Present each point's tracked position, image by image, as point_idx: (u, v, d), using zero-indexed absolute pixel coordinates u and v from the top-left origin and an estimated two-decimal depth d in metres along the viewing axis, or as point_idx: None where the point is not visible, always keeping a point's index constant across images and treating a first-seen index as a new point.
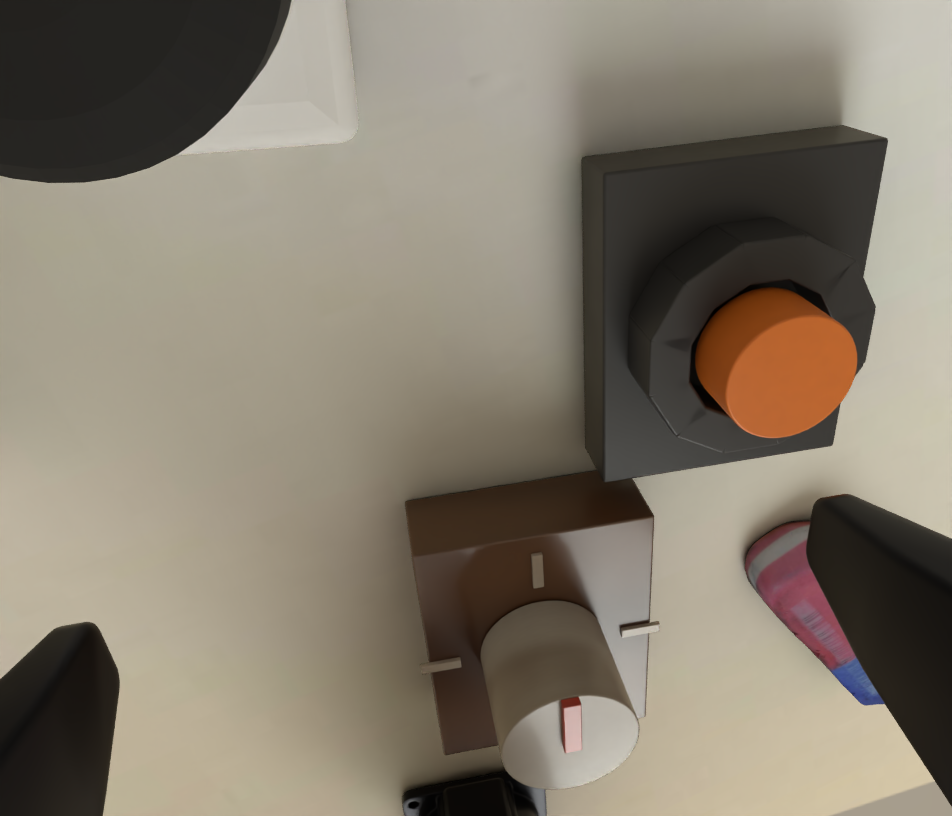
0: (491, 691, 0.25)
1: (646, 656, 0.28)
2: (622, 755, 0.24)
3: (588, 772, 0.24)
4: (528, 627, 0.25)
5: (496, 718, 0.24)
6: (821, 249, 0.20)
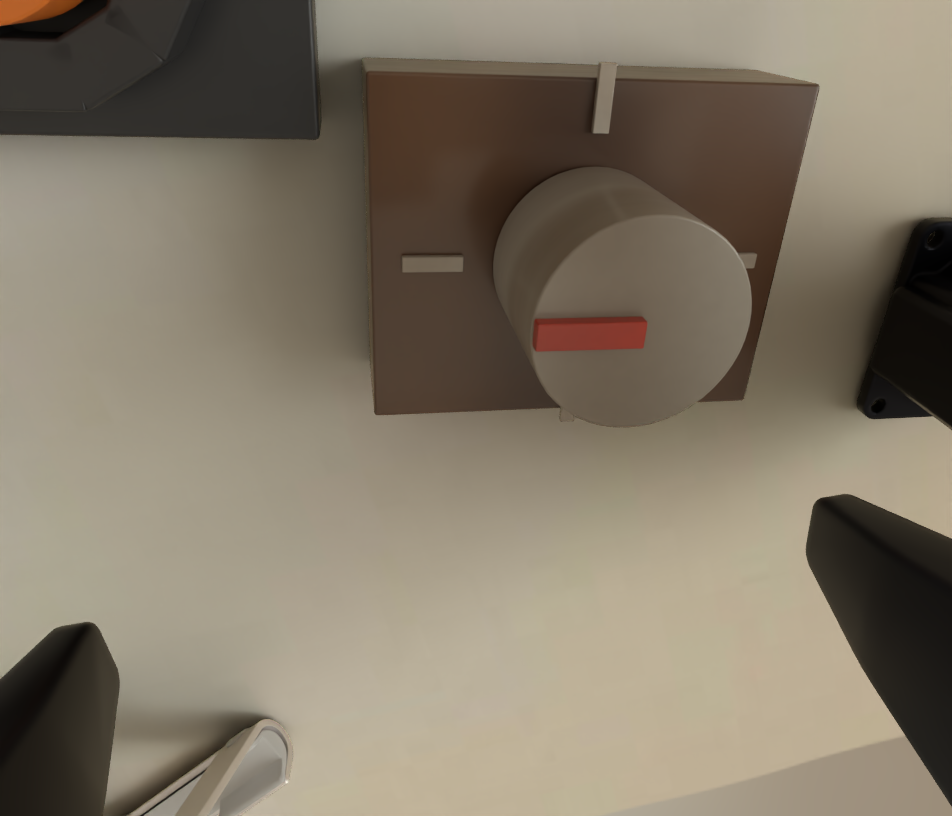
0: None
1: (673, 84, 0.16)
2: (710, 244, 0.14)
3: (724, 301, 0.15)
4: (503, 302, 0.17)
5: None
6: None
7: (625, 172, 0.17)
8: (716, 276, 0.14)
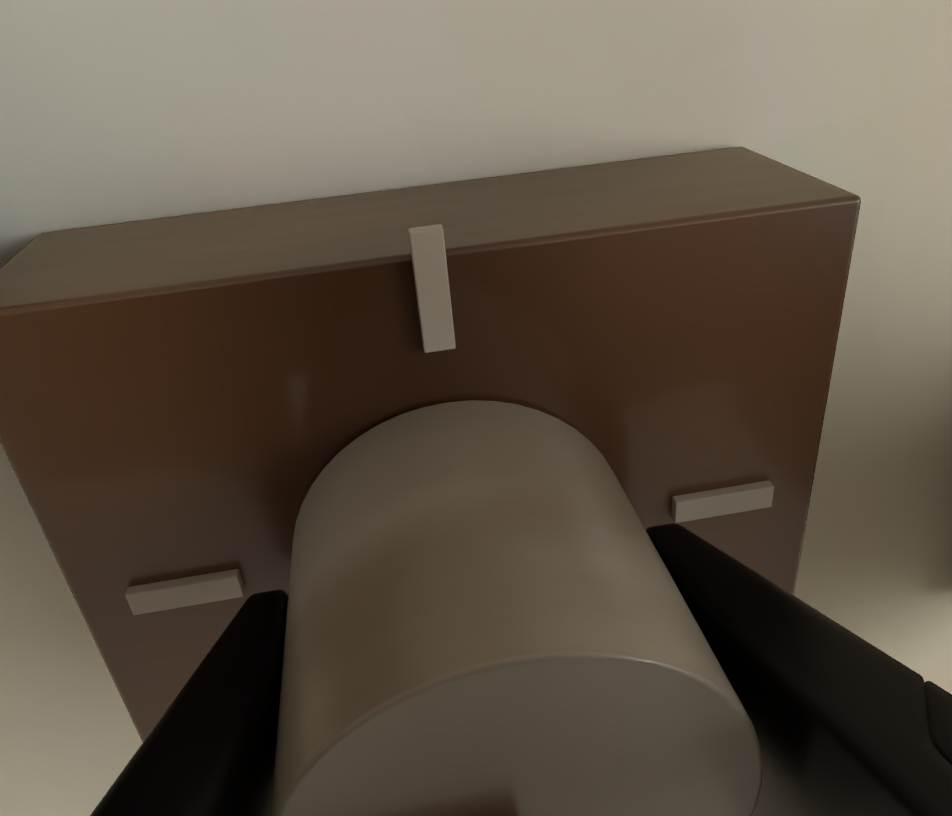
0: None
1: (568, 242, 0.08)
2: (644, 685, 0.06)
3: (698, 763, 0.07)
4: None
5: None
6: None
7: (504, 404, 0.09)
8: (671, 731, 0.06)
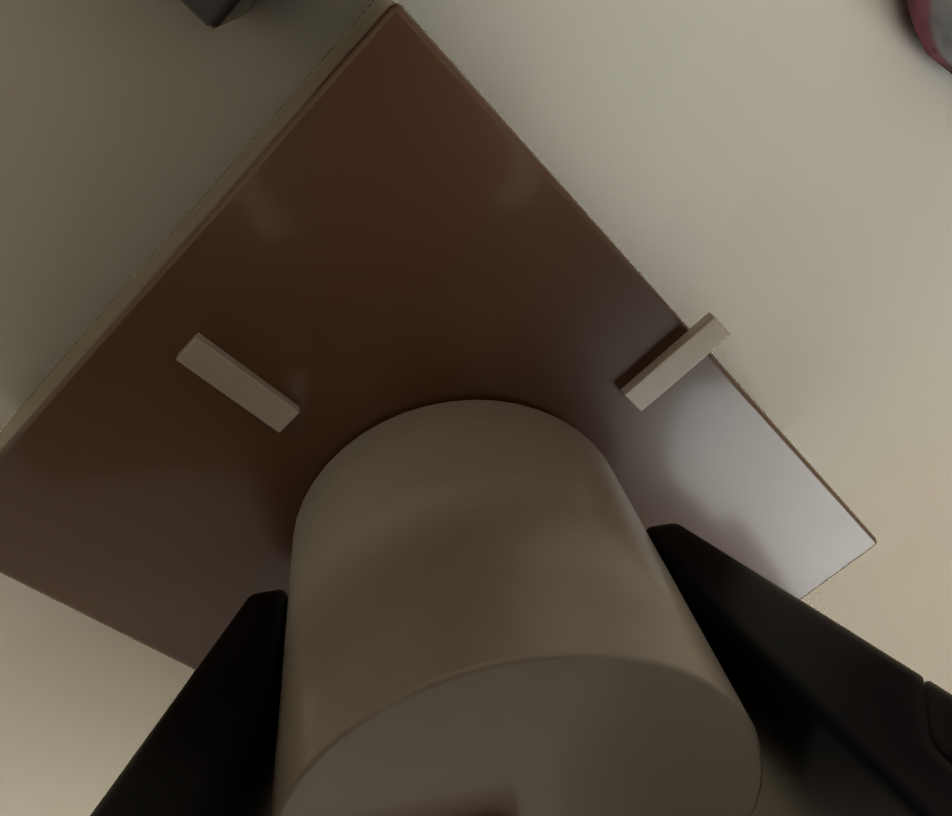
0: None
1: (757, 416, 0.10)
2: (649, 685, 0.06)
3: (699, 764, 0.07)
4: None
5: None
6: None
7: (507, 404, 0.09)
8: (674, 732, 0.06)
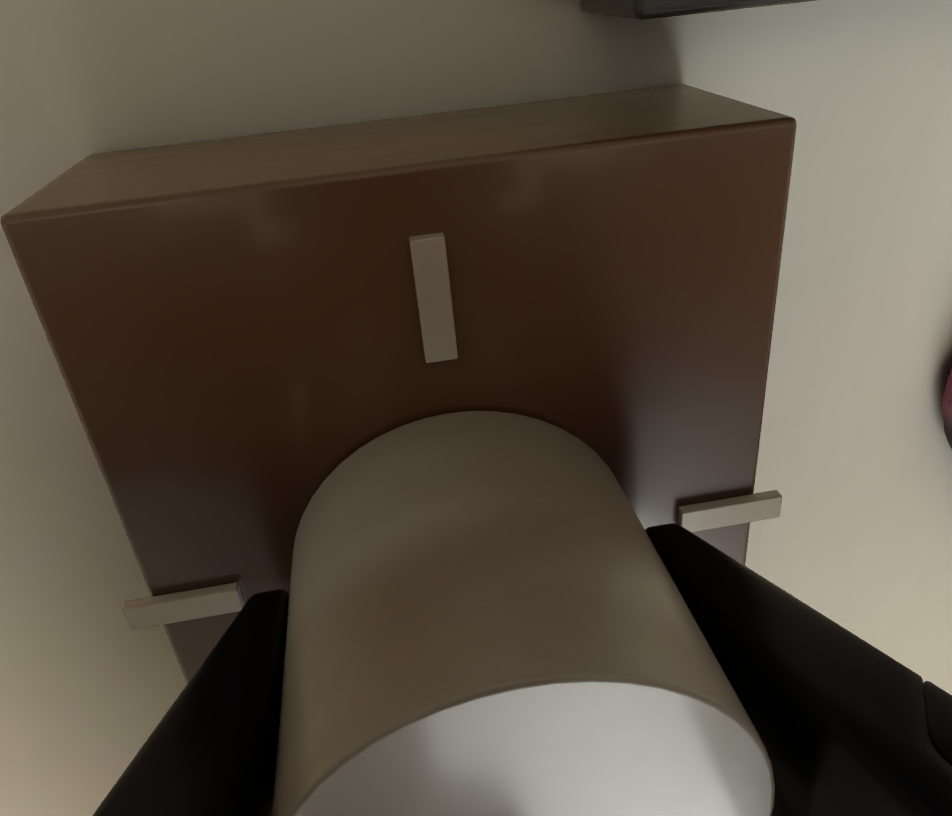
0: None
1: None
2: (653, 707, 0.06)
3: (708, 785, 0.06)
4: None
5: None
6: None
7: (507, 414, 0.09)
8: (681, 753, 0.06)
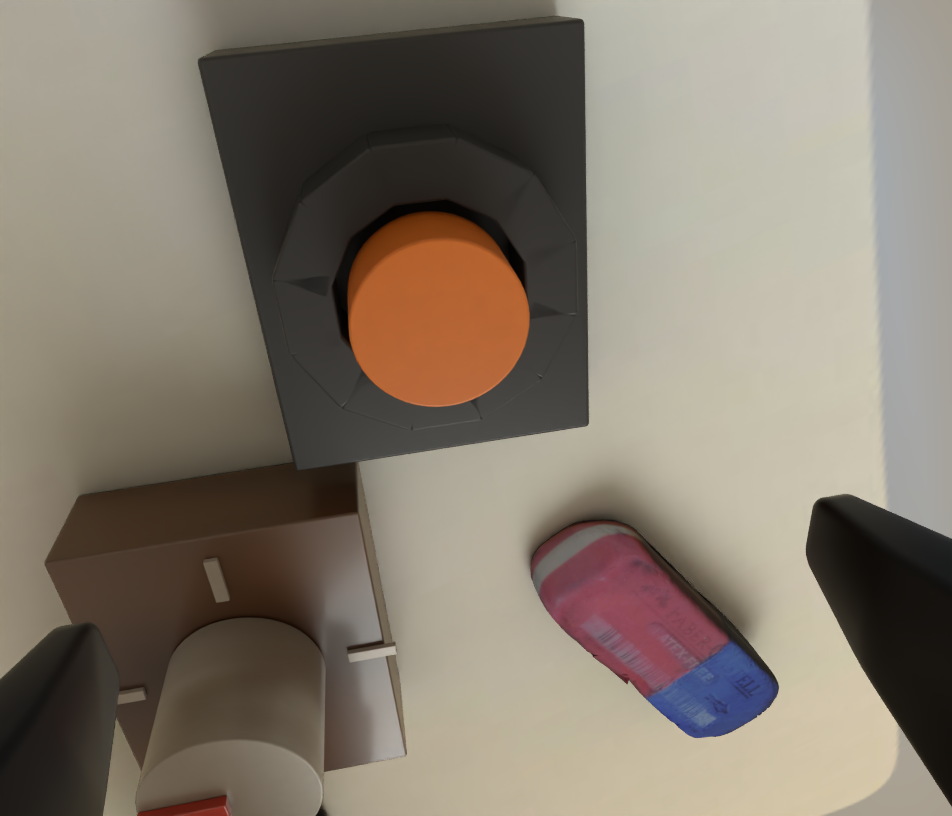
0: None
1: (390, 684, 0.23)
2: (258, 748, 0.18)
3: (290, 774, 0.18)
4: None
5: None
6: (482, 157, 0.15)
7: (254, 619, 0.21)
8: (275, 763, 0.18)
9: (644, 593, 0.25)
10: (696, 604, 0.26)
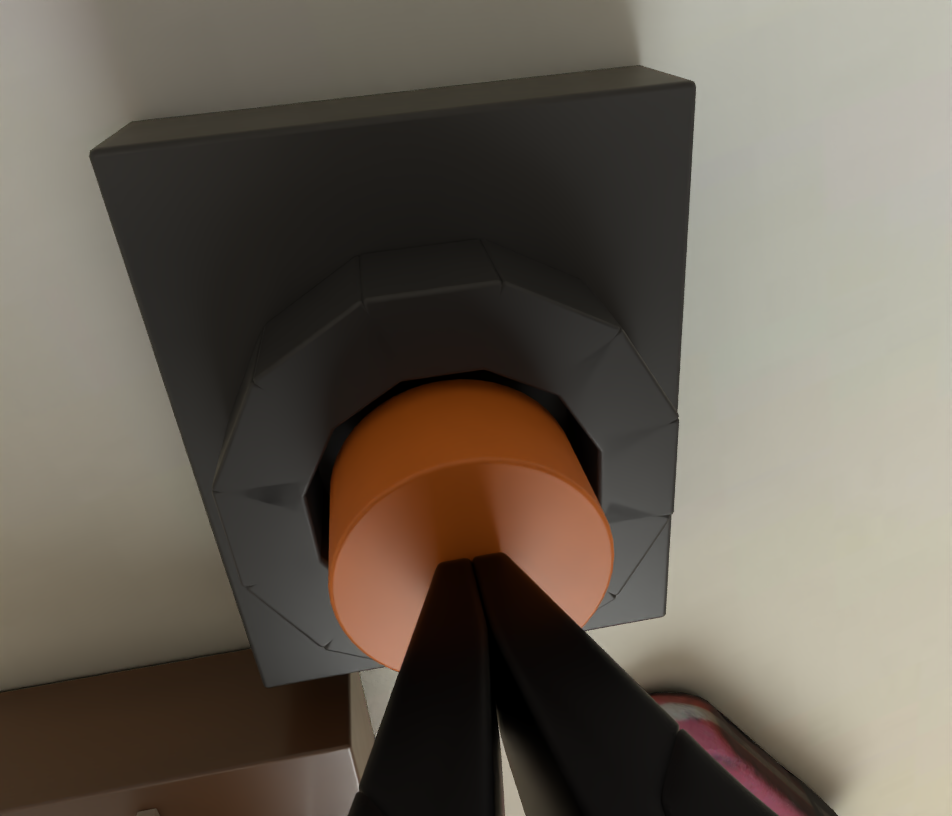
0: None
1: None
2: None
3: None
4: None
5: None
6: (541, 309, 0.10)
7: None
8: None
9: None
10: (784, 797, 0.20)
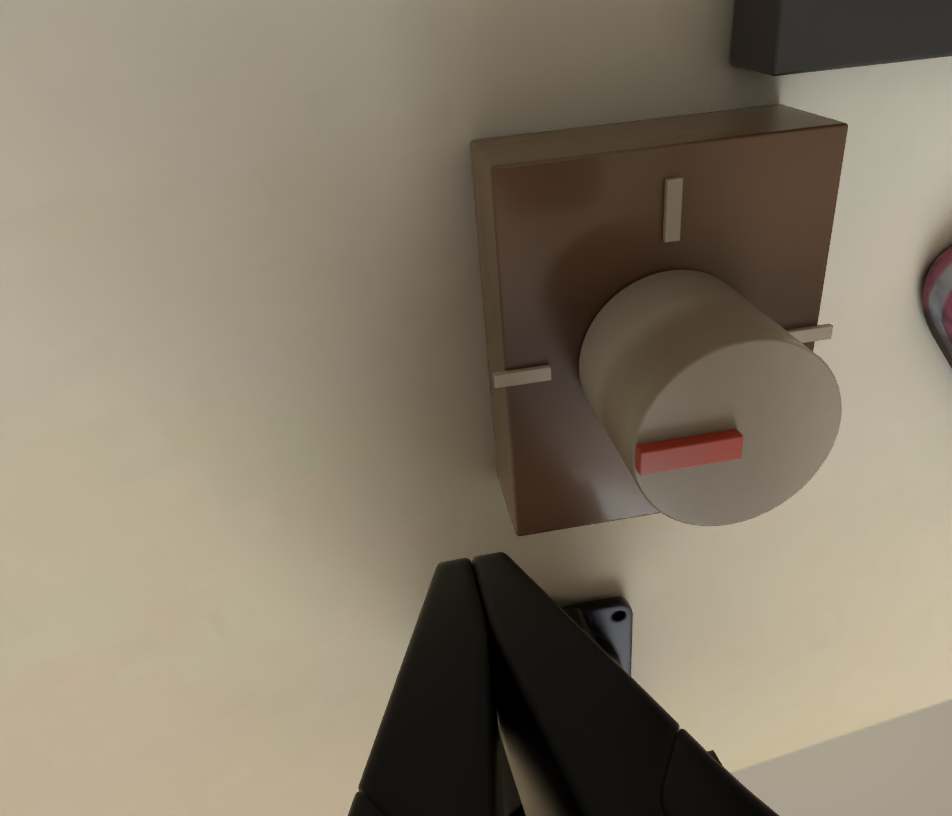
0: None
1: None
2: (797, 358, 0.15)
3: (814, 405, 0.15)
4: (594, 408, 0.18)
5: None
6: None
7: (698, 271, 0.18)
8: (805, 384, 0.15)
9: None
10: None
